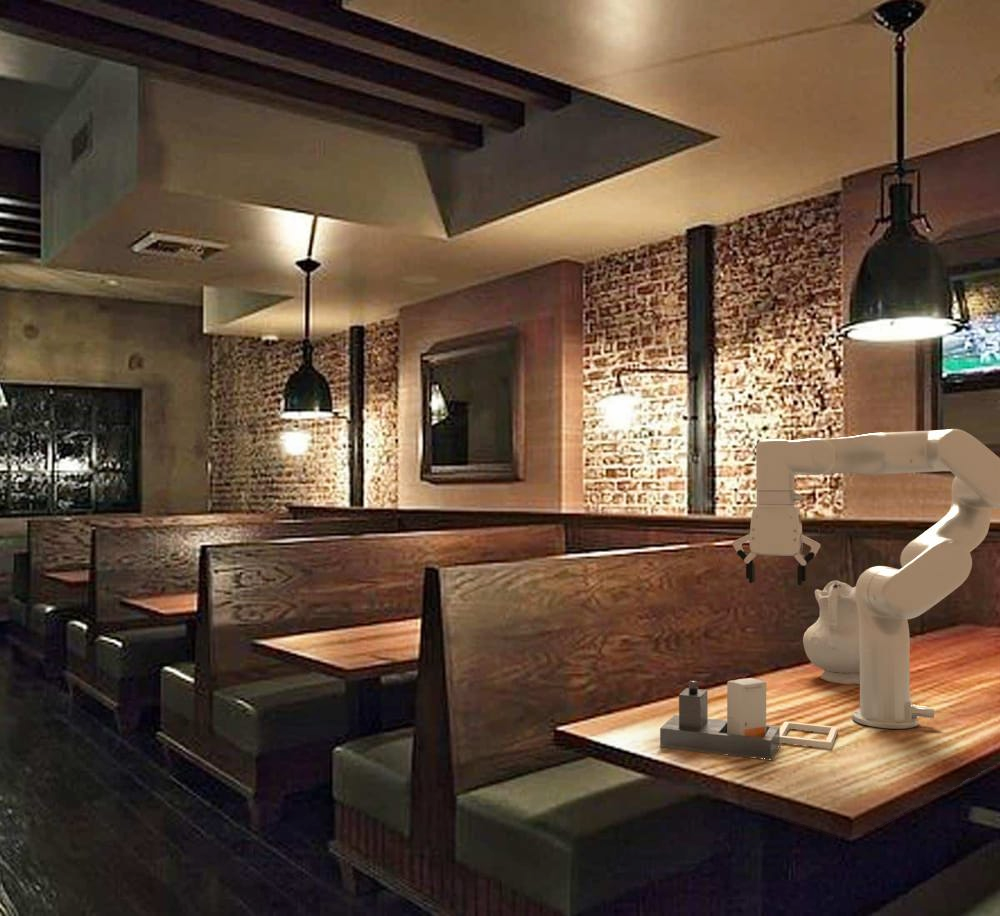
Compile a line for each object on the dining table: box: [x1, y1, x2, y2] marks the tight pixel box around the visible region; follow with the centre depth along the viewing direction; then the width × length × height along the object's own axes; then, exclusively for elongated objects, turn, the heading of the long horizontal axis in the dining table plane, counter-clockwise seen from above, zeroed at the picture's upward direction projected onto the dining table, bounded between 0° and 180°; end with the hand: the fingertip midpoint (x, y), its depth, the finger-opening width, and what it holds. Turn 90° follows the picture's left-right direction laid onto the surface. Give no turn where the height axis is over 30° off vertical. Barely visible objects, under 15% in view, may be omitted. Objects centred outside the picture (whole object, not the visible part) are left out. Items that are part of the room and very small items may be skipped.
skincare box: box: [726, 677, 767, 738], centre depth 177 cm, size 6×4×12 cm
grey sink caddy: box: [659, 680, 781, 760], centre depth 179 cm, size 20×10×12 cm, turn 65°
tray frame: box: [780, 721, 838, 750], centre depth 184 cm, size 10×12×1 cm
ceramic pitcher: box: [802, 579, 860, 686], centre depth 235 cm, size 22×20×25 cm
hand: (775, 583), depth 196 cm, fingers open, 9 cm apart
